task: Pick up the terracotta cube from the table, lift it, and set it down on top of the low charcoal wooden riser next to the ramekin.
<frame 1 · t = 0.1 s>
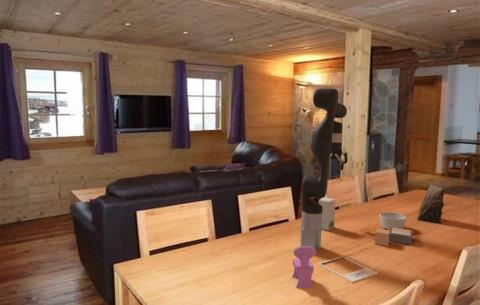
hand: (333, 170, 205), 29 cm above the table, fingers open, 8 cm apart
dark rock: (427, 220, 214), on the table
photo frame: (347, 270, 148), on the table
purple figurine: (302, 282, 136), on the table
riser: (400, 239, 181), on the table
ramekin: (391, 228, 198), on the table
cube: (381, 243, 176), on the table
skincare box: (325, 228, 197), on the table
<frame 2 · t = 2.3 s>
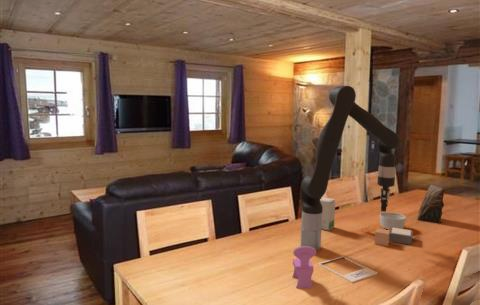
hand: (384, 209, 174), 17 cm above the table, fingers open, 8 cm apart
nothing on the table moved.
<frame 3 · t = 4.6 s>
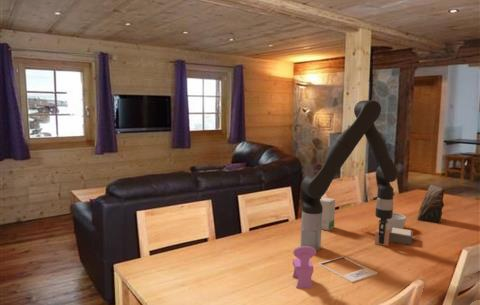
hand: (381, 241, 176), 1 cm above the table, fingers closed on cube, 6 cm apart
cube: (381, 242, 176), on the table, touching gripper
everything else where it was.
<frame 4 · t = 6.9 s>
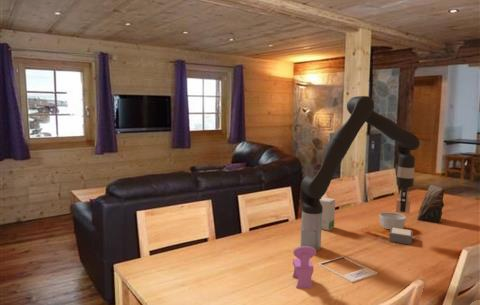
hand: (402, 209, 179), 15 cm above the table, fingers closed on cube, 6 cm apart
cube: (402, 211, 179), point 14 cm above the table, touching gripper
everything else where it was.
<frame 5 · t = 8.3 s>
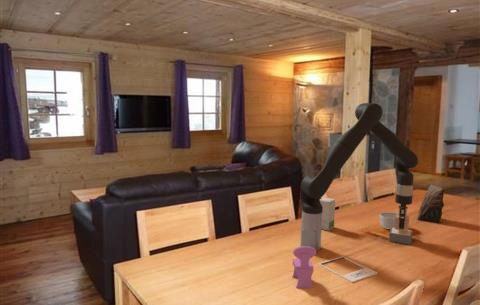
hand: (401, 226, 180), 7 cm above the table, fingers closed on cube, 6 cm apart
cube: (401, 228, 180), point 6 cm above the table, touching gripper
everything else where it was.
when the fingers open (6 cm above the table, at t = 9.4 s): cube stays where it is, resting on riser.
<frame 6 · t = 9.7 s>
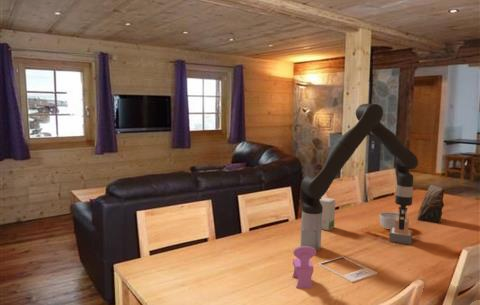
hand: (401, 226, 180), 7 cm above the table, fingers open, 8 cm apart
cube: (401, 231, 180), point 4 cm above the table, touching riser
everything else where it was.
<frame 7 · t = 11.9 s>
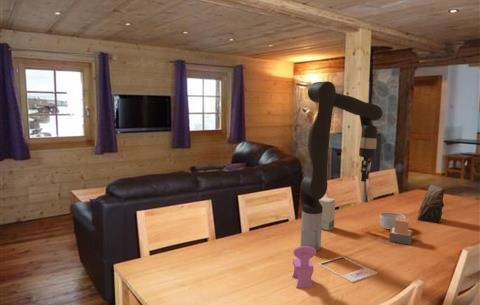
hand: (364, 180, 179), 29 cm above the table, fingers open, 8 cm apart
nothing on the table moved.
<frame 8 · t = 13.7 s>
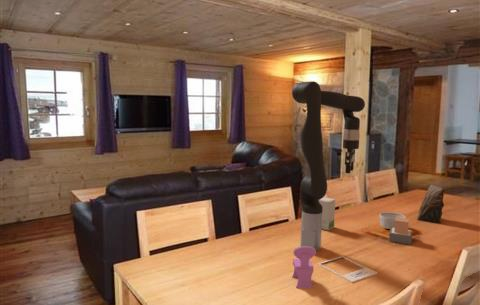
hand: (349, 171, 179), 33 cm above the table, fingers open, 8 cm apart
nothing on the table moved.
at the end: cube inside the target area on the riser (0.1 cm from its centre), point 4.2 cm above the riser's base; cube tilted 0°; the gripper is holding nothing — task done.
